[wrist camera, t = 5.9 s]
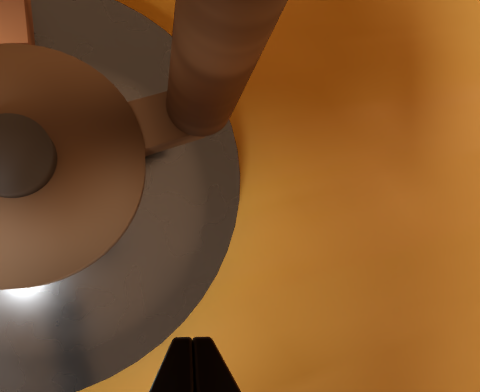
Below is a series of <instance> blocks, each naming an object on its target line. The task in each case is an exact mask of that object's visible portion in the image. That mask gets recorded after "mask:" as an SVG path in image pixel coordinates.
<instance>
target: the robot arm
mask: <svg viewBox="0 0 480 392" xmlns="http://www.w3.org/2000/svg"><path fill="white" fill-rule="evenodd" d="M149 392H241V391H240V389H239V387H238V385H237V384H236V382H235V380H234V378H233V376H232V374H231V372H230V371H229V369H228V367H227V365H226V363H225V361H224V360H223V358H222V356H221V354H220V352H219V350H218V349H217V347H216V345H215V343H214V341H213V340H212V338H210V337H195V338H193V340H192V339H191V338H190V337H176V338H174V339H173V340H172V342H171V344H170V346H169V349H168V351H167V353H166V355H165V358H164V360H163V362H162V364H161V366H160V369H159V371H158V373H157V375H156V378H155V380H154V382H153V384H152V387H151V389H150V391H149Z"/></svg>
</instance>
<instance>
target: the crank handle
mask: <svg viewBox="0 0 480 392" xmlns="http://www.w3.org/2000/svg"><path fill="white" fill-rule="evenodd" d="M287 1H288V0H176V3H175V13H174V24H173V35H172V46H171V56H170V67H169V78H168V89H167V91H165V92H162V93H158V94H154V95H151V96H147V97H143V98H140V99H136V100H132V101H129V102H127V101H126V99H125V98H124V96H123V95H122V94H121V93H120V91H119V90H118V89H117V88H116V87H115V86H114V84H112V83H111V82H110V81H109V80H108V79H107V78H106V77H105V76H104V75H103V74H101V73H100V72H98V71H97V70H96V69H94V68H93V67H91V66H90V65H88V64H87V63H85V62H83V61H81V60H79V59H77V58H76V57H73V56H71V55H68V54H66V53H63V52H61V51H57V50H54V49H50V48H47V47H42V46H36V45H35V38H34V28H33V18H32V8H31V0H0V290H6V289H21V288H32V287H37V286H42V285H47V284H50V283H54V282H57V281H60V280H63V279H65V278H68V277H70V276H72V275H74V274H76V273H79V272H80V271H82V270H84V269H85V268H87V267H89V266H90V265H92V264H93V263H95V262H96V261H97V260H99V259H100V258H101V257H102V256H104V255H105V254H106V253H107V252H108V251H109V250H110V249H111V248H112V247H113V246H114V245H115V244H116V243H117V242H118V241H119V240H120V238H121V237H122V236H123V234H124V233H125V232H126V230H127V229H128V227H129V225H130V224H131V222H132V220H133V218H134V217H135V215H136V212H137V210H138V207H139V205H140V202H141V198H142V194H143V191H144V185H145V176H146V167H145V156H148V155H151V154H155V153H158V152H161V151H164V150H167V149H171V148H174V147H177V146H180V145H183V144H186V143H190V142H193V141H196V140H199V139H202V138H205V136H210V135H213V134H215V133H217V132H219V131H220V130H221V129H222V128H223V127H224V126H225V125H226V124H227V122H228V120H229V118H230V116H231V114H232V112H233V110H234V108H235V106H236V104H237V102H238V100H239V98H240V96H241V94H242V92H243V90H244V88H245V86H246V84H247V82H248V80H249V78H250V76H251V74H252V72H253V70H254V67H255V65H256V63H257V61H258V59H259V57H260V55H261V53H262V51H263V49H264V47H265V45H266V43H267V41H268V39H269V37H270V35H271V33H272V31H273V29H274V27H275V25H276V23H277V21H278V19H279V17H280V15H281V13H282V11H283V9H284V7H285V5H286V3H287Z"/></svg>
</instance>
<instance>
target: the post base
mask: <svg viewBox="0 0 480 392" xmlns="http://www.w3.org/2000/svg"><path fill="white" fill-rule="evenodd" d="M31 8H32V18H33V28H34V38H35V45H36V46H42V47H47V48H50V49H54V50H57V51H61V52H63V53H66V54H68V55H71V56H73V57H76V58H77V59H79V60H81V61H83V62H85V63H87V64H88V65H90V66H91V67H93V68H94V69H96V70H97V71H98V72H100V73H101V74H103V75H104V76H105V77H106V78H107V79H108V80H109V81H110V82H111V83H112V84H114V86H115V87H116V88H117V89H118V90H119V91H120V93H121V94H122V95H123V96H124V98H125V99H126V101H127V102H129V101H132V100H136V99H140V98H143V97H147V96H151V95H154V94H158V93H162V92H165V91H167V89H168V78H169V67H170V56H171V46H172V36H171V35H170V34H168V33H167V32H166V31H165V30H164V29H163V28H161V27H160V26H158V25H157V24H155V23H154V22H152V21H151V20H150V19H148V18H147V17H145V16H144V15H142V14H141V13H139V12H137V11H135V10H133V9H131V8H129V7H127V6H126V5H124V4H122V3H120V2H118V1H115V0H31ZM145 167H146V176H145V185H144V191H143V194H142V198H141V202H140V205H139V207H138V210H137V212H136V215H135V217H134V218H133V220H132V222H131V224H130V225H129V227H128V229H127V230H126V232H125V233H124V234H123V236H122V237H121V238H120V240H119V241H118V242H117V243H116V244H115V245H114V246H113V247H112V248H111V249H110V250H109V251H108V252H107V253H106V254H105V255H104V256H102V257H101V258H100V259H99V260H97V261H96V262H95V263H93V264H92V265H90V266H89V267H87V268H85V269H84V270H82V271H80V272H79V273H76V274H74V275H72V276H70V277H68V278H65V279H63V280H60V281H57V282H54V283H50V284H47V285H42V286H37V287H32V288H21V289H6V290H0V392H76V391H79V390H82V389H84V388H86V387H89V386H91V385H93V384H96V383H98V382H100V381H103V380H105V379H107V378H110V377H111V376H113V375H115V374H117V373H118V372H120V371H122V370H123V369H125V368H127V367H129V366H130V365H132V364H134V363H135V362H137V361H139V360H140V359H141V358H142V357H144V356H145V355H146V354H148V353H149V352H150V351H152V350H153V349H154V348H156V347H157V346H158V345H160V344H161V343H162V342H163V341H164V340H165V339H166V338H167V337H168V336H169V335H170V334H171V333H173V332H174V331H175V330H176V329H177V328H178V327H179V326H180V325H181V324H182V323H183V322H184V321H185V319H186V318H187V317H188V316H189V314H190V313H191V312H192V311H193V309H194V308H195V307H196V306H197V304H198V303H199V302H200V301H201V299H202V298H203V296H204V295H205V293H206V291H207V290H208V288H209V286H210V285H211V283H212V282H213V280H214V278H215V277H216V275H217V273H218V271H219V268H220V266H221V264H222V262H223V259H224V257H225V255H226V253H227V250H228V247H229V244H230V240H231V237H232V234H233V231H234V227H235V223H236V217H237V210H238V204H239V190H240V171H239V161H238V151H237V147H236V142H235V138H234V134H233V130H232V126H231V123H230V121H229V120H228V122H227V124H226V125H225V126H224V127H223V128H222V129H221V130H220V131H219V132H217V133H215V134H213V135H210V136H205V138H202V139H199V140H196V141H193V142H190V143H186V144H183V145H180V146H177V147H174V148H171V149H167V150H164V151H161V152H158V153H155V154H151V155H148V156H145Z"/></svg>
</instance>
